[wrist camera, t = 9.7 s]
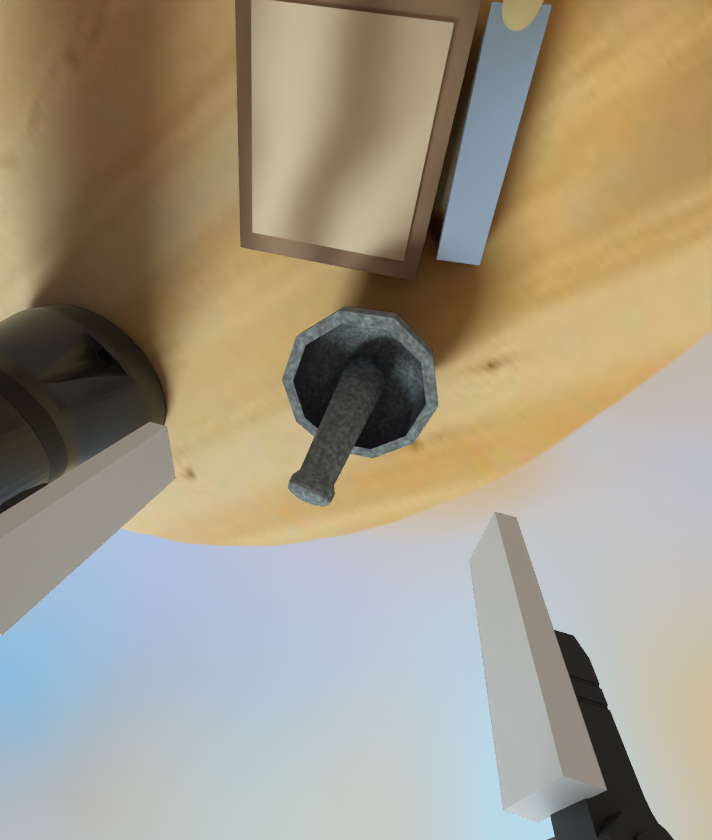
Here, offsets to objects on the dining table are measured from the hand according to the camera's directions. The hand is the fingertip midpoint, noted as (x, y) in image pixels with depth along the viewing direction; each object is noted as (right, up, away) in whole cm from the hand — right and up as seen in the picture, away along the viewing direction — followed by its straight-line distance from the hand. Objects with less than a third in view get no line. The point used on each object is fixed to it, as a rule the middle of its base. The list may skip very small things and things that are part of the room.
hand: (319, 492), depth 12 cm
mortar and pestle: (+3, +7, +13) cm, 15 cm away
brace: (+9, +18, +6) cm, 21 cm away
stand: (+1, +19, +7) cm, 20 cm away
